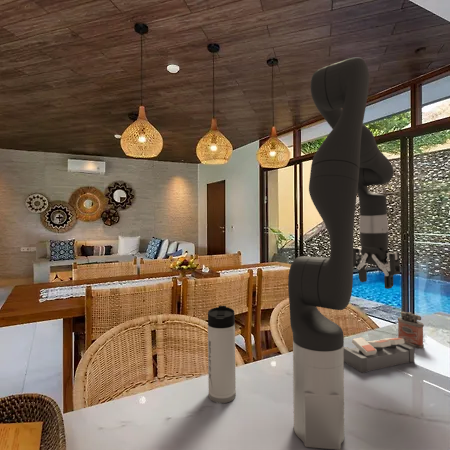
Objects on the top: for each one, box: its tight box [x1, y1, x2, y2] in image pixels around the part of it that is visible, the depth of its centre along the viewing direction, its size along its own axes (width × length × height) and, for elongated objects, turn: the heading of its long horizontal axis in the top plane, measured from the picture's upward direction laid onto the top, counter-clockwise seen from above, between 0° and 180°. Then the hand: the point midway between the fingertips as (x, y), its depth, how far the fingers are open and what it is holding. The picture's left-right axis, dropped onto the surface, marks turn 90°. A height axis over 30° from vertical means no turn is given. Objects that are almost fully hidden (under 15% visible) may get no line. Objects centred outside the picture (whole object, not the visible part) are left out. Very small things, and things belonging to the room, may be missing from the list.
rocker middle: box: [367, 339, 391, 347], centre depth 87 cm, size 3×6×1 cm, turn 19°
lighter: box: [397, 311, 425, 350], centre depth 99 cm, size 8×3×10 cm, turn 25°
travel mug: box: [207, 305, 237, 404], centre depth 71 cm, size 6×7×20 cm
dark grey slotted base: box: [344, 343, 415, 373], centre depth 87 cm, size 18×7×4 cm, turn 109°
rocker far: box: [378, 337, 405, 345], centre depth 89 cm, size 3×6×1 cm, turn 19°
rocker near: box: [351, 336, 377, 356], centre depth 86 cm, size 3×6×1 cm, turn 19°
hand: (375, 284), depth 91 cm, fingers open, 8 cm apart
